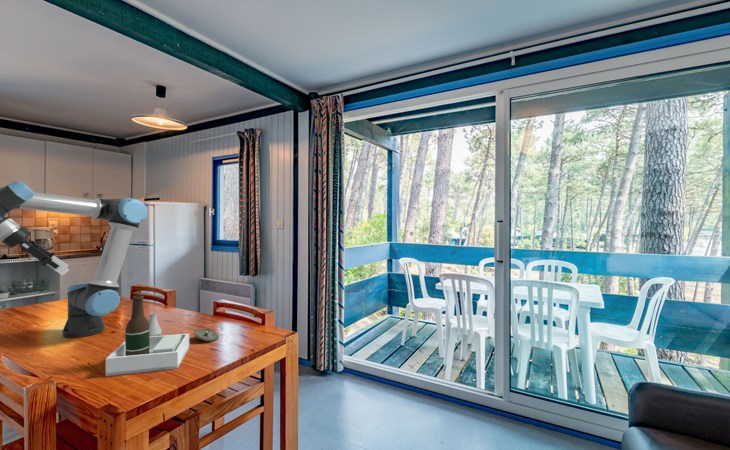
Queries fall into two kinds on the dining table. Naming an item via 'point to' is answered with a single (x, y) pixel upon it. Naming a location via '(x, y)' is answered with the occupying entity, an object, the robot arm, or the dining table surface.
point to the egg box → (168, 344)
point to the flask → (154, 325)
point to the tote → (146, 358)
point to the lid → (206, 334)
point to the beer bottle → (137, 330)
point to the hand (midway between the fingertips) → (66, 270)
